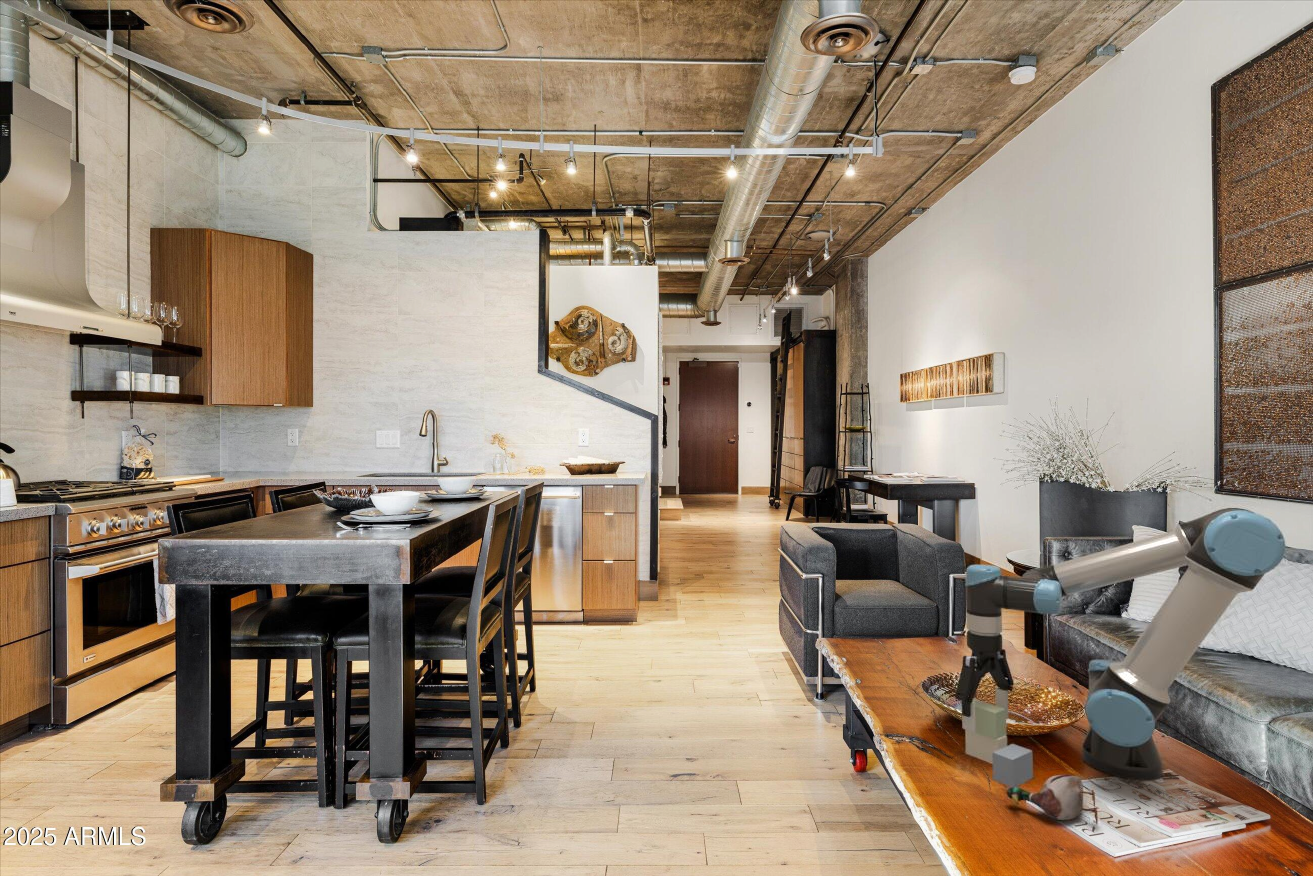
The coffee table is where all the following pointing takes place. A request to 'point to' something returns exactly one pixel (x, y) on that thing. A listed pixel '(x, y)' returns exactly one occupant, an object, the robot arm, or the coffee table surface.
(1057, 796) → the decorative duck model
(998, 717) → the sage block
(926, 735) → the coffee table surface
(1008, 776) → the slate block
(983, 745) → the cream block
